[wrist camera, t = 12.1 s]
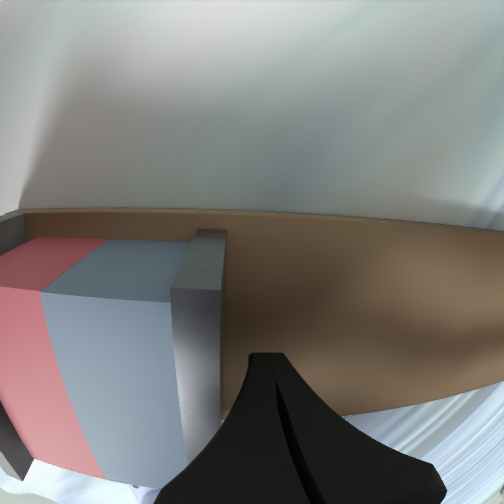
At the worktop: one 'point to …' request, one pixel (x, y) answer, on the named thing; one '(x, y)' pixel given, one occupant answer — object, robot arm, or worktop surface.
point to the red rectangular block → (39, 354)
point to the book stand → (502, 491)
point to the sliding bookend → (200, 337)
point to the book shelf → (324, 300)
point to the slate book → (122, 356)
